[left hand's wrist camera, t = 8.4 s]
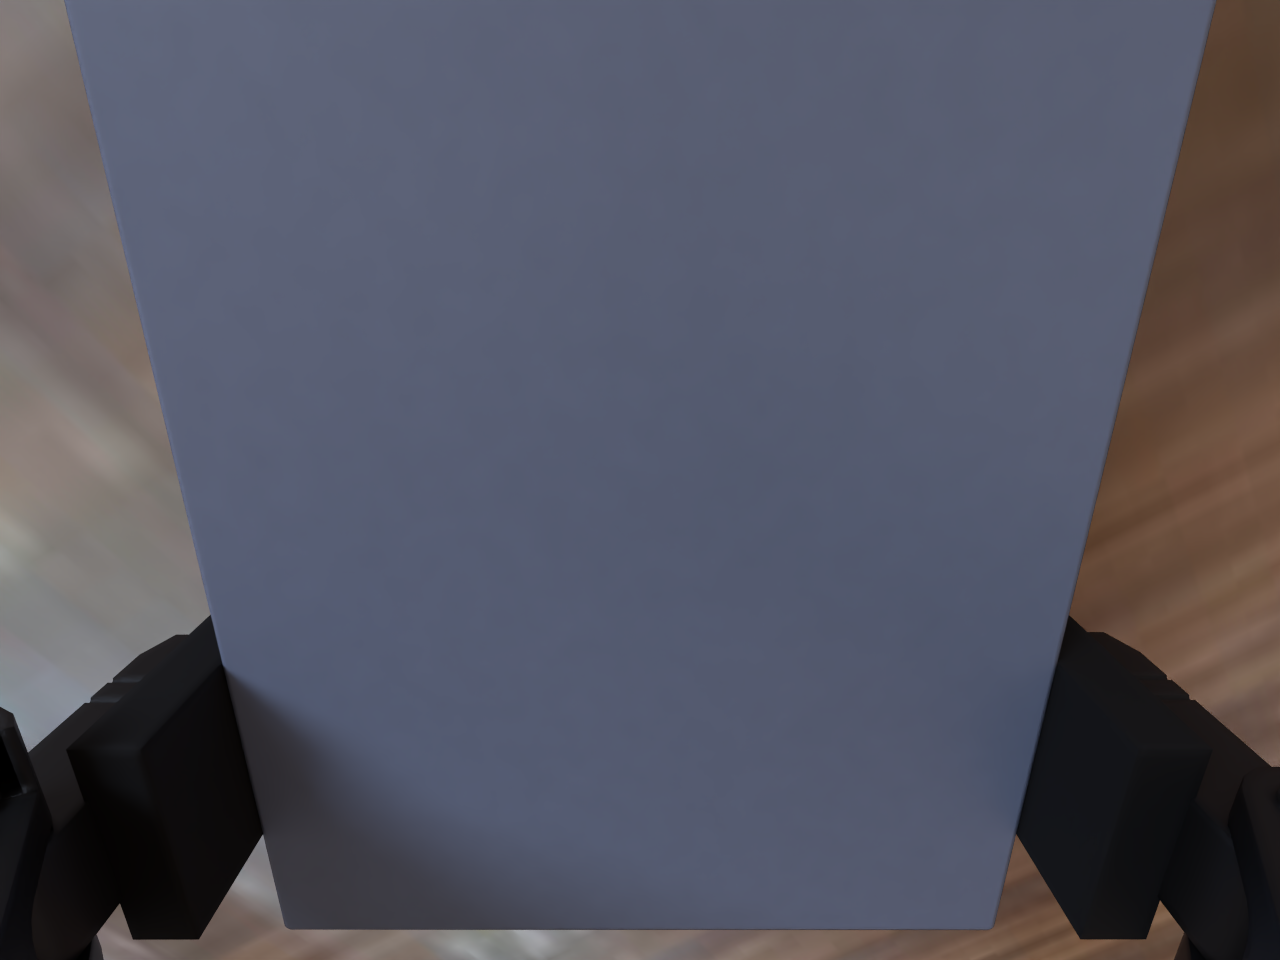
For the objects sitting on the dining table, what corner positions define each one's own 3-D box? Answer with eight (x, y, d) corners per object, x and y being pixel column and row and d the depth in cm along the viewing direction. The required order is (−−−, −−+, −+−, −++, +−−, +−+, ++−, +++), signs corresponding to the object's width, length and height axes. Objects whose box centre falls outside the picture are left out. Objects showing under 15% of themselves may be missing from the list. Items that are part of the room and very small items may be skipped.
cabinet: (337, -504, 12) (-606, -2760, 3) (943, -503, 12) (1890, -2758, 3) (451, 597, 19) (283, 933, 10) (828, 597, 19) (995, 933, 10)
